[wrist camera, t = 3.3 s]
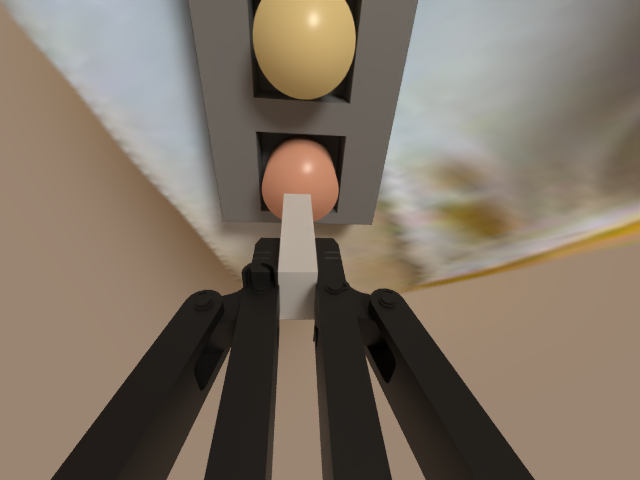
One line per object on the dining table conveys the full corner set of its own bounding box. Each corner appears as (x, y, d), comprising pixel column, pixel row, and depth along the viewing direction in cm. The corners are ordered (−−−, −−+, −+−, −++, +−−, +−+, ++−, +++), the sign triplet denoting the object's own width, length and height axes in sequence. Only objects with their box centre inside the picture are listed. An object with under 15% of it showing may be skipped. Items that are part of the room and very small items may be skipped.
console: (166, -329, 12) (114, -469, 8) (446, -277, 13) (497, -384, 9) (232, 197, 26) (222, 221, 22) (363, 201, 27) (371, 224, 23)
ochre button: (259, -19, 15) (248, -33, 12) (350, -10, 16) (362, -21, 13) (263, 85, 18) (256, 96, 15) (340, 90, 19) (348, 102, 16)
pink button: (265, 133, 20) (259, 152, 17) (335, 136, 21) (342, 156, 17) (268, 196, 23) (263, 223, 20) (329, 198, 23) (334, 224, 20)
